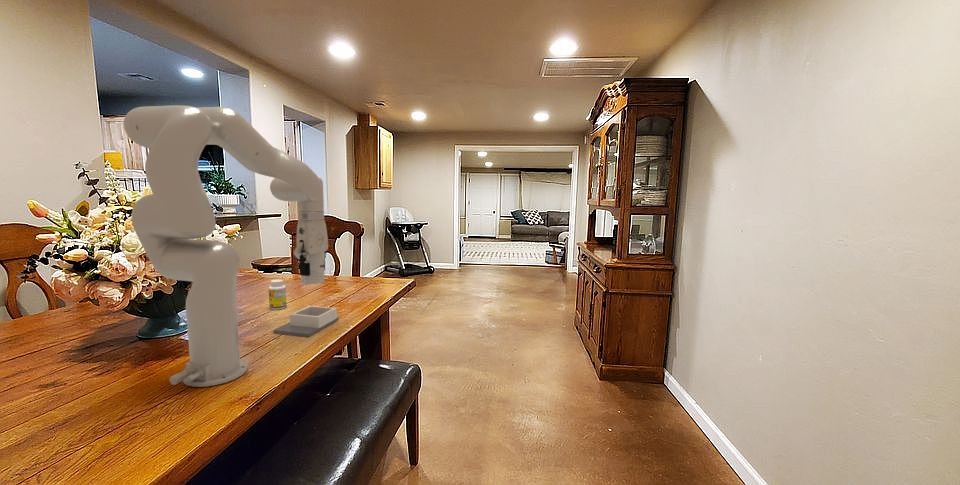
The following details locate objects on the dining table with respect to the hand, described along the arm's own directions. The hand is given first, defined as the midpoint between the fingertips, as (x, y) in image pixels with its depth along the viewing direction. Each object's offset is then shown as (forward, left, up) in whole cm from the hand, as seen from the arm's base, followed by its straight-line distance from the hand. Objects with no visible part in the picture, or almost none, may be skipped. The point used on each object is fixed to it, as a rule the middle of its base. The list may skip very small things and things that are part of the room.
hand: (312, 272), depth 124 cm
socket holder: (-2, +1, -17) cm, 17 cm away
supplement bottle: (+12, +23, -17) cm, 31 cm away
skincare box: (0, 0, -4) cm, 4 cm away
